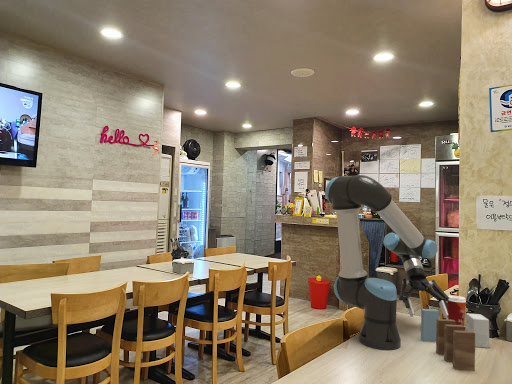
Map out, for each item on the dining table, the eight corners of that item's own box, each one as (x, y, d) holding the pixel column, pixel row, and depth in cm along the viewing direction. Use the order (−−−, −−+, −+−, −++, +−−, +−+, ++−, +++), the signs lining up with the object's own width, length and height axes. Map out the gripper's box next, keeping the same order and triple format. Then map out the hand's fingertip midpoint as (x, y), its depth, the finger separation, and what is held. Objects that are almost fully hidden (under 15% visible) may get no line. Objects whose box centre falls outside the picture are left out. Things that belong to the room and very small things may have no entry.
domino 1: (435, 352, 133) (436, 319, 134) (452, 353, 133) (453, 319, 134) (438, 354, 131) (439, 320, 132) (455, 355, 131) (456, 321, 132)
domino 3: (452, 367, 121) (453, 330, 122) (471, 368, 121) (471, 331, 122) (455, 369, 119) (456, 332, 120) (474, 370, 119) (475, 333, 120)
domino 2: (444, 359, 127) (444, 324, 128) (461, 360, 127) (462, 325, 128) (446, 362, 125) (447, 326, 126) (464, 362, 125) (465, 327, 126)
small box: (489, 348, 139) (489, 320, 140) (473, 346, 140) (473, 318, 141) (481, 340, 147) (481, 314, 147) (465, 339, 148) (466, 312, 149)
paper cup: (465, 334, 154) (466, 300, 155) (445, 330, 159) (445, 297, 159) (466, 328, 161) (467, 296, 162) (446, 325, 165) (447, 293, 166)
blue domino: (420, 339, 146) (421, 308, 147) (436, 340, 146) (436, 309, 147) (423, 341, 144) (423, 310, 145) (438, 341, 144) (439, 311, 145)
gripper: (439, 277, 167) (456, 321, 152) (384, 275, 167) (395, 319, 152) (446, 267, 162) (464, 312, 146) (388, 265, 162) (401, 310, 147)
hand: (429, 316), depth 149 cm, fingers open, 13 cm apart
